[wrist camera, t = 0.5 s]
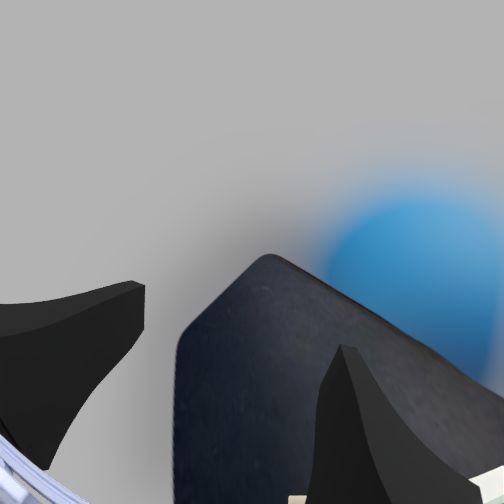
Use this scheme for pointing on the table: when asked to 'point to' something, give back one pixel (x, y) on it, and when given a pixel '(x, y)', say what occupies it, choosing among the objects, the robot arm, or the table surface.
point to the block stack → (297, 499)
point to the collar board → (491, 486)
